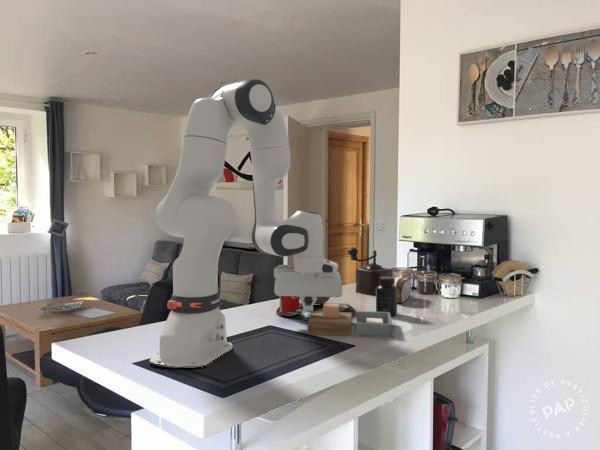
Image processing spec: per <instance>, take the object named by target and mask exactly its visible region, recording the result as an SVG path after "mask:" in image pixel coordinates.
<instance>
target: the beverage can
mask: <svg viewBox="0 0 600 450" xmlns="http://www.w3.org/2000/svg"><path fill="white" fill-rule="evenodd" d="M298 309H299V310H300V299H299V296H279V313H280V312H284V313H287V312H293V311H296V310H298Z"/></svg>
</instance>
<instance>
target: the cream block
mask: <svg viewBox="0 0 600 450" xmlns="http://www.w3.org/2000/svg"><path fill="white" fill-rule="evenodd" d="M366 323H375V324H383V320H382V318H367V319H366Z"/></svg>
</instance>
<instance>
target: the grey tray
mask: <svg viewBox="0 0 600 450" xmlns="http://www.w3.org/2000/svg"><path fill="white" fill-rule="evenodd" d="M355 314H356V316H355V317H356V318H355V319H356V321H355V322H356V323H355V336H356V337H368V338H370V337H371V338H372V337H373V338H376V337H377V338H393V337H394V336H393V333H394V331H393V330H394V325H393V320H392V316H391V315H390V312H376V311H369V310H356V313H355ZM367 318H382V320H383V324H375V323H366V319H367Z"/></svg>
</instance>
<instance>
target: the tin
mask: <svg viewBox="0 0 600 450" xmlns="http://www.w3.org/2000/svg"><path fill="white" fill-rule="evenodd" d="M395 286H396V288H397V304H398V303H399V304H404V303H405V302H406V301H407V300H409V299H410V296H411V287H412V278H411V277H410V276H409V277H408V276H405V275H404V276H402V277H400V278H399V279H397V281H396V283H395Z"/></svg>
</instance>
